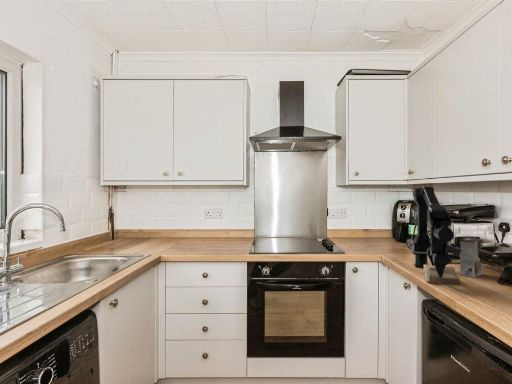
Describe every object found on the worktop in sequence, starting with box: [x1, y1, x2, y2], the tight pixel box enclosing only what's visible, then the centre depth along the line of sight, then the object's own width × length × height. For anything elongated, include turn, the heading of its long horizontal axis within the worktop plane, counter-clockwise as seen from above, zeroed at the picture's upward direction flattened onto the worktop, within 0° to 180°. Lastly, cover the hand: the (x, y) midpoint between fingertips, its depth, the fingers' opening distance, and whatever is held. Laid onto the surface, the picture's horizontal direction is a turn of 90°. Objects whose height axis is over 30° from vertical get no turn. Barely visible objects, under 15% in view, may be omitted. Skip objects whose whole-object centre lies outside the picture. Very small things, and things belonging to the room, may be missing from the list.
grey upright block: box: [459, 237, 484, 279], centre depth 155 cm, size 9×6×16 cm
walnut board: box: [429, 274, 461, 286], centre depth 149 cm, size 16×11×2 cm
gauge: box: [423, 265, 456, 283], centre depth 145 cm, size 7×11×6 cm, turn 72°
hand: (438, 274), depth 146 cm, fingers open, 8 cm apart
